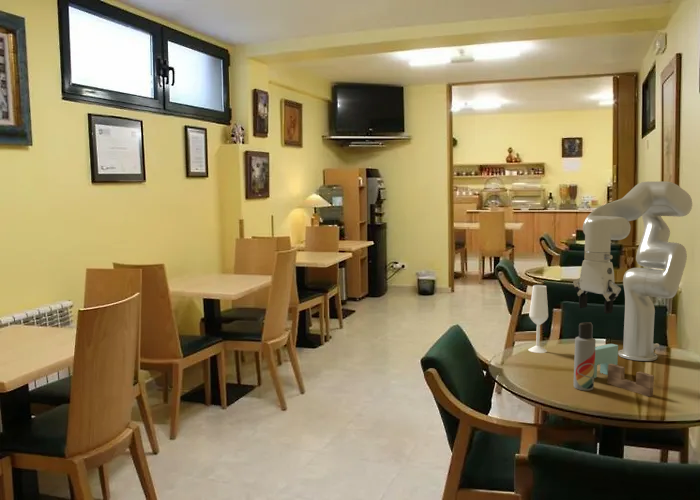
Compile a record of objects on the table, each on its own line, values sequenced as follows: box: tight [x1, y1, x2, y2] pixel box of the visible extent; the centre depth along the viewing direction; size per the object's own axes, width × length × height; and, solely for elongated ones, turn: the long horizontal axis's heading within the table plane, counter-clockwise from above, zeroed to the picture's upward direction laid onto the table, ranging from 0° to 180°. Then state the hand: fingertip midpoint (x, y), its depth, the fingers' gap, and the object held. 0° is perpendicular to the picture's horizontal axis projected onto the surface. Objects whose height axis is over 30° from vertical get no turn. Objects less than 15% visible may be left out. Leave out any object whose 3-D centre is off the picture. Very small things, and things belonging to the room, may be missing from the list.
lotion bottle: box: [573, 321, 597, 392], centre depth 185 cm, size 6×6×20 cm
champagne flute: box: [527, 284, 549, 354], centre depth 227 cm, size 7×7×24 cm
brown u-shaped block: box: [607, 364, 655, 397], centre depth 184 cm, size 14×2×6 cm, turn 30°
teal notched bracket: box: [594, 343, 619, 379], centre depth 198 cm, size 15×6×9 cm, turn 120°
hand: (595, 310), depth 197 cm, fingers open, 9 cm apart
